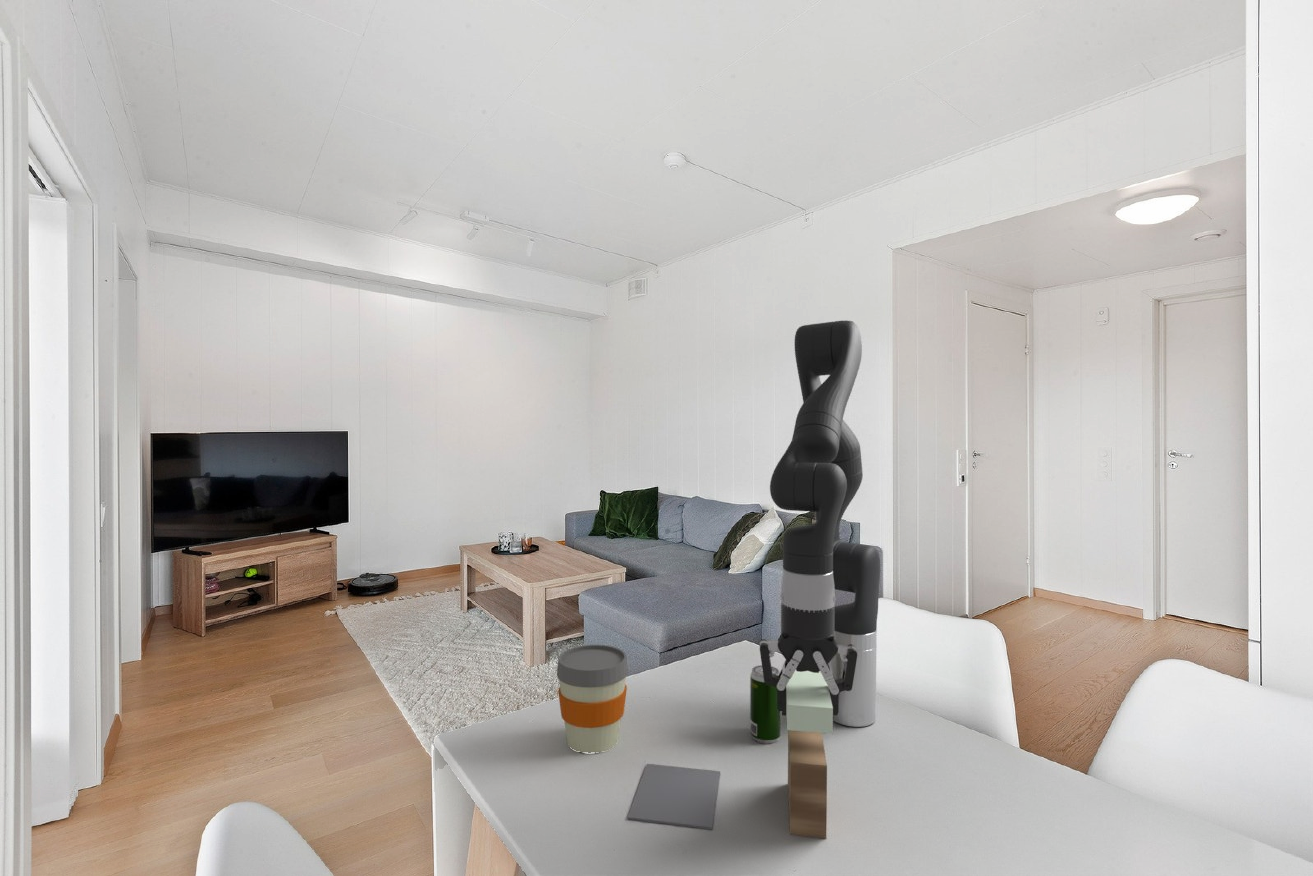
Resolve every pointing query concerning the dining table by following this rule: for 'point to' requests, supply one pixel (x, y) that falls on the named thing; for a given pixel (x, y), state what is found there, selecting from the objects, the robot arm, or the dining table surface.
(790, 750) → the box
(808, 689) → the pale green block
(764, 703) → the beer can
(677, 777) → the mat
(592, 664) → the reusable coffee cup
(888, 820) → the dining table surface
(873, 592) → the robot arm
